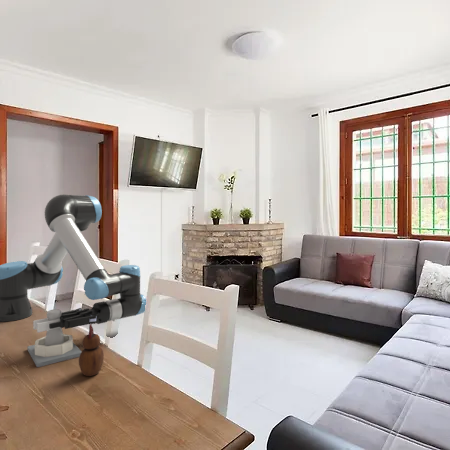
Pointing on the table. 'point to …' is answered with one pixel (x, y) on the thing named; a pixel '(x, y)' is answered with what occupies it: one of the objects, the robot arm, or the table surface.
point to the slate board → (44, 361)
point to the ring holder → (53, 347)
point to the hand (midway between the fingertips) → (35, 326)
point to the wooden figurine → (91, 354)
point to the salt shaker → (54, 330)
